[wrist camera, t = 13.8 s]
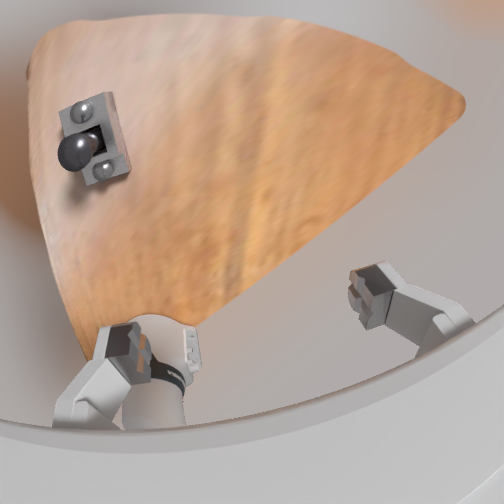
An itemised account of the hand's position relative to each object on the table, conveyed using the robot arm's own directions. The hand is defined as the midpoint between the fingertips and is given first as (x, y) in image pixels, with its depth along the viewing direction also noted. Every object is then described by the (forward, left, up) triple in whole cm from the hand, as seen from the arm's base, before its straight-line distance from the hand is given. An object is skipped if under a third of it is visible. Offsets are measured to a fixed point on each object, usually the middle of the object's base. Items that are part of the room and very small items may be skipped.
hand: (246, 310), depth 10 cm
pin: (+5, +15, -33) cm, 37 cm away
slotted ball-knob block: (+5, +15, -33) cm, 37 cm away
